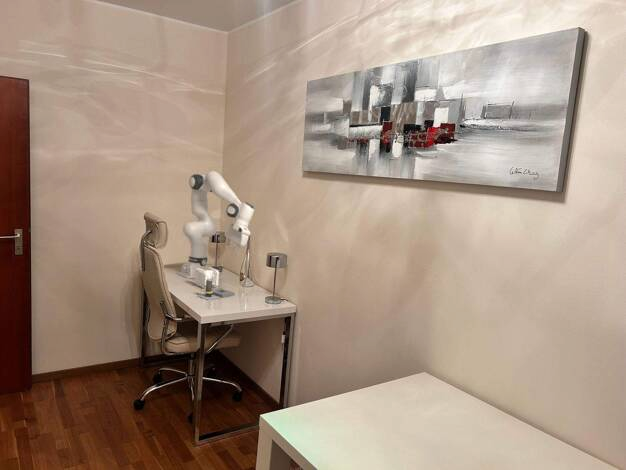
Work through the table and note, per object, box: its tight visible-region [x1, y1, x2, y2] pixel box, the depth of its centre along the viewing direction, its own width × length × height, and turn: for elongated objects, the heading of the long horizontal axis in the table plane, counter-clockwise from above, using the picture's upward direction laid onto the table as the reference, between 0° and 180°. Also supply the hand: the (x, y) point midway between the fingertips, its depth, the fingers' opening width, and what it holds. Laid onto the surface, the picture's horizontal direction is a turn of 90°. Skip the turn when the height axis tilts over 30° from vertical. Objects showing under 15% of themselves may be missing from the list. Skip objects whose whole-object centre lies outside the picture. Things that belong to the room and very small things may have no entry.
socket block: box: [212, 287, 236, 299], centre depth 298 cm, size 14×10×3 cm
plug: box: [204, 279, 213, 297], centre depth 288 cm, size 5×5×10 cm
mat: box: [196, 293, 221, 301], centre depth 289 cm, size 10×9×1 cm
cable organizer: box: [194, 266, 220, 290], centre depth 314 cm, size 15×11×12 cm
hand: (230, 248), depth 303 cm, fingers open, 8 cm apart
